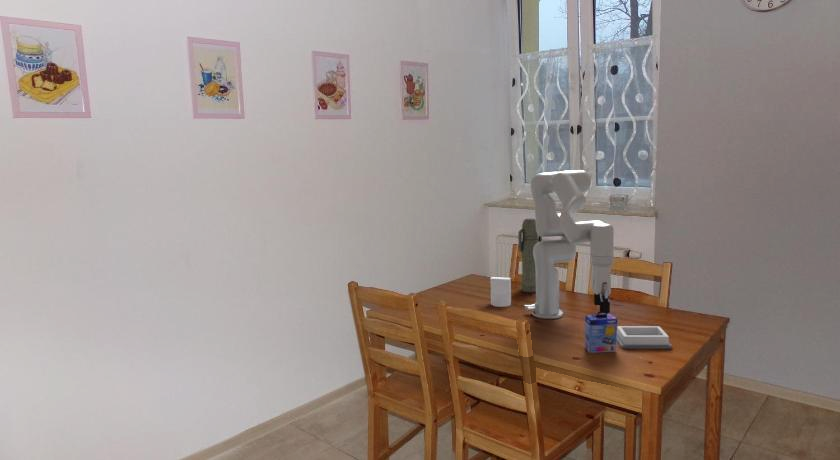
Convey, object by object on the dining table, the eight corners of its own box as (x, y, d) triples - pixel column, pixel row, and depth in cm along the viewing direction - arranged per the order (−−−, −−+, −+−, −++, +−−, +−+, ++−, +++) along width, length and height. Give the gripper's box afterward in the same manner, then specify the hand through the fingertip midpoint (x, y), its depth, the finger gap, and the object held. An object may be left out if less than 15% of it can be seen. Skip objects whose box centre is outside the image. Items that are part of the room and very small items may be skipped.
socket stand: (621, 348, 199) (621, 337, 199) (613, 335, 212) (613, 325, 211) (672, 348, 197) (672, 337, 197) (661, 335, 210) (661, 325, 209)
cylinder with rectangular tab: (488, 306, 255) (488, 280, 253) (493, 300, 263) (493, 275, 261) (508, 307, 252) (508, 281, 250) (513, 301, 260) (512, 276, 258)
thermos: (546, 290, 277) (545, 219, 271) (526, 293, 272) (525, 221, 266) (535, 286, 285) (534, 217, 279) (515, 289, 280) (514, 219, 274)
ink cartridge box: (589, 353, 196) (590, 313, 193) (583, 348, 201) (584, 308, 199) (617, 352, 196) (618, 311, 194) (610, 346, 202) (611, 306, 199)
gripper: (586, 255, 202) (586, 302, 205) (595, 265, 185) (595, 316, 188) (607, 255, 201) (607, 302, 204) (619, 264, 184) (618, 316, 187)
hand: (601, 308), depth 196 cm, fingers open, 9 cm apart
